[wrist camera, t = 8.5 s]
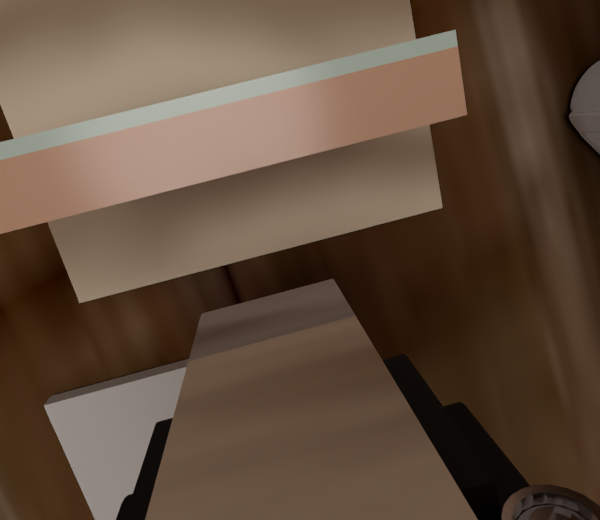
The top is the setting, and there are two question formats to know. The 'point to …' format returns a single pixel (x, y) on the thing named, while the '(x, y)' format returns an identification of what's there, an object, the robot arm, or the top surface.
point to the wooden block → (296, 423)
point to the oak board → (192, 80)
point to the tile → (229, 130)
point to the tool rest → (113, 430)
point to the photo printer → (587, 106)
